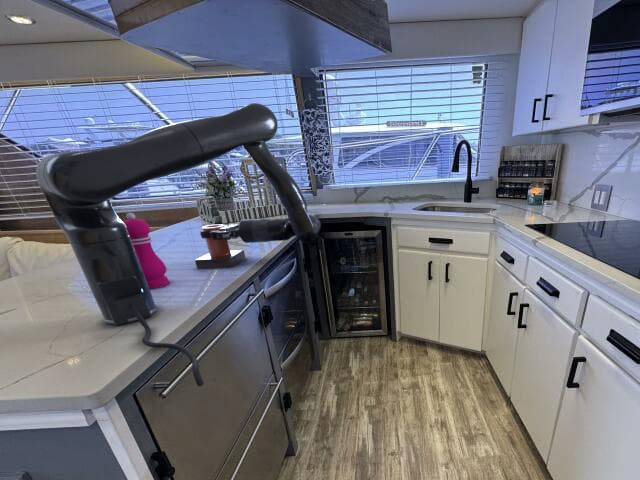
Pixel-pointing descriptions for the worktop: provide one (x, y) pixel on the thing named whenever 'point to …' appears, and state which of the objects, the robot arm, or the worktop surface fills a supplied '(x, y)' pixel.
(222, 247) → the cup
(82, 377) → the worktop surface
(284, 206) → the robot arm
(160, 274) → the pepper mill
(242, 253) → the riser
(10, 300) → the worktop surface
